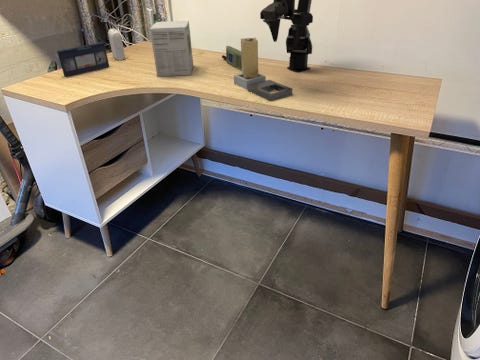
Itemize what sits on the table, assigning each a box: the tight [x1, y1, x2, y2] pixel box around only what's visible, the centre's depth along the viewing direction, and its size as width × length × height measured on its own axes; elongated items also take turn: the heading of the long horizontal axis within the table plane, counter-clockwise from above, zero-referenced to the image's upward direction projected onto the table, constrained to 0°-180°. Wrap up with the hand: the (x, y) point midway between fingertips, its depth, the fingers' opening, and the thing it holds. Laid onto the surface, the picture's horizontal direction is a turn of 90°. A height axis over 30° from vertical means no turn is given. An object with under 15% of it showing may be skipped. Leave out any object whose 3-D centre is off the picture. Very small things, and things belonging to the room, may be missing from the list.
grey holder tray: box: [247, 79, 293, 102], centre depth 124 cm, size 12×9×2 cm
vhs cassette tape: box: [56, 41, 110, 78], centre depth 151 cm, size 18×3×10 cm, turn 129°
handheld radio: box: [221, 45, 242, 72], centre depth 151 cm, size 7×3×25 cm
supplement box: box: [149, 20, 194, 77], centre depth 145 cm, size 13×13×18 cm
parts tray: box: [233, 72, 267, 90], centre depth 132 cm, size 8×8×3 cm
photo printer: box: [107, 28, 126, 61], centre depth 167 cm, size 10×4×12 cm, turn 28°
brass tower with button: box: [240, 37, 259, 78], centre depth 128 cm, size 5×5×12 cm
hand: (284, 43), depth 127 cm, fingers open, 9 cm apart
